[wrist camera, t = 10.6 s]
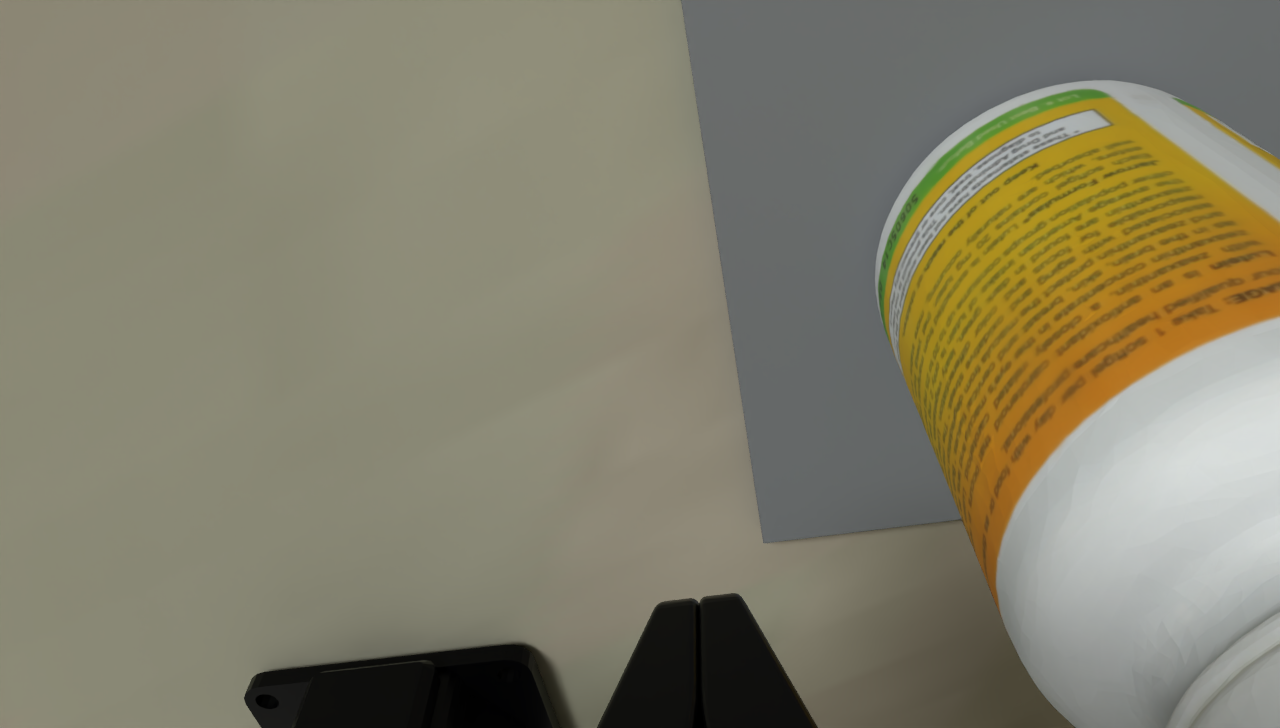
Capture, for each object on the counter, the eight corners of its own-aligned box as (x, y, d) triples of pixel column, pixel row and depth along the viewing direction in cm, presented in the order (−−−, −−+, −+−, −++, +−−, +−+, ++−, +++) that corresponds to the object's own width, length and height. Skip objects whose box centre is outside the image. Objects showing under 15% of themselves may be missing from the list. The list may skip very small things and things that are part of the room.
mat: (1482, 439, 17) (1499, 453, 16) (761, 528, 18) (763, 543, 18) (1778, -301, 11) (1812, -302, 10) (669, -79, 12) (669, -75, 12)
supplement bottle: (833, 374, 16) (1029, 1048, 7) (922, 49, 13) (1406, 576, 4) (1143, 406, 16) (1660, 1089, 8) (1301, 94, 13) (2408, 669, 5)
